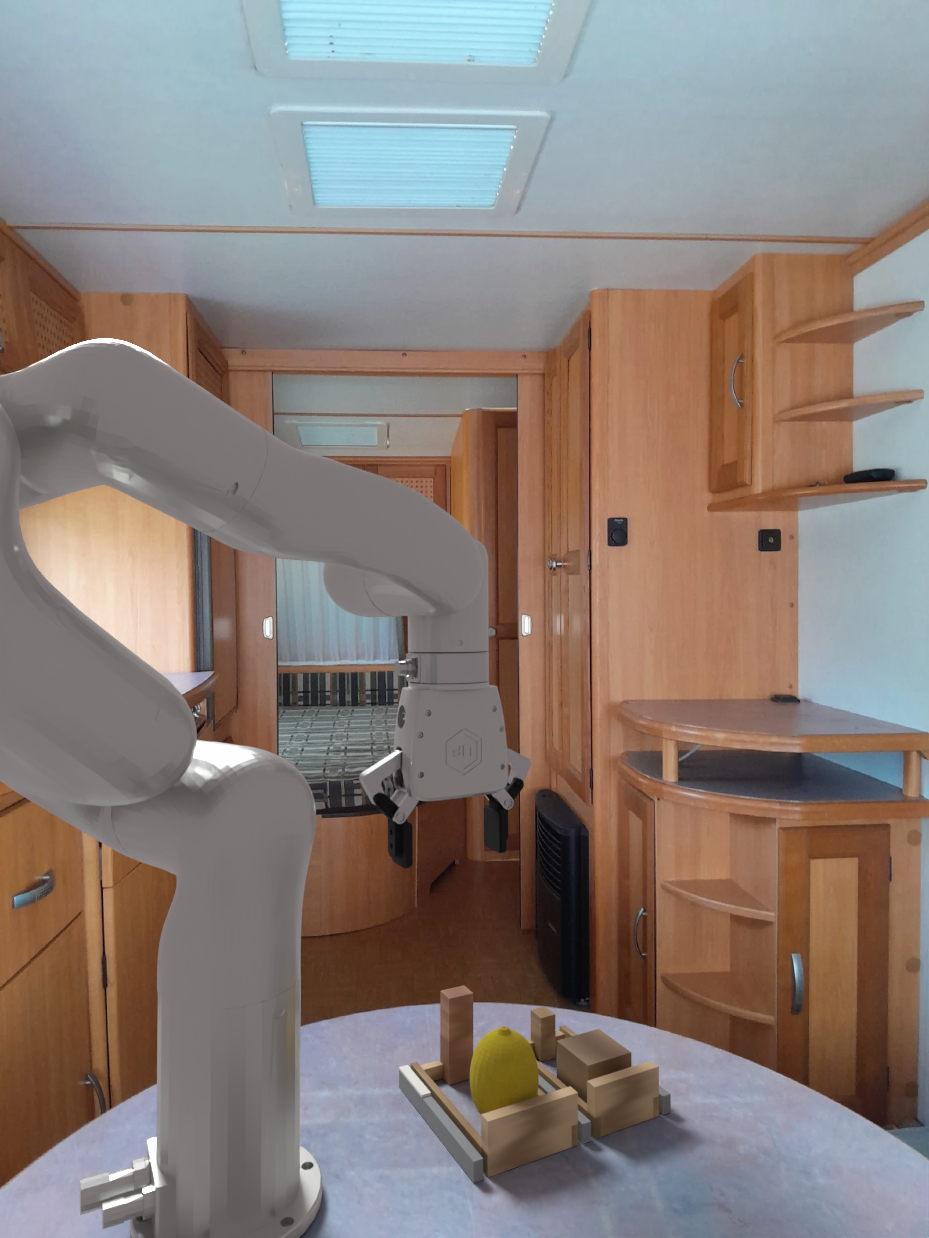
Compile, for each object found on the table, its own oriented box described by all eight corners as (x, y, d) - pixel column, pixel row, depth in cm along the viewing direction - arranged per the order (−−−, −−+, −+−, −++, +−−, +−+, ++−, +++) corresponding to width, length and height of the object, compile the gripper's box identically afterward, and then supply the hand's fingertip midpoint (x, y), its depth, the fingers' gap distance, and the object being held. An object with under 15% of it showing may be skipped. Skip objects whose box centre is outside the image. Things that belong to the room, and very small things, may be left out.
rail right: (663, 1114, 65) (663, 1096, 65) (581, 1050, 75) (581, 1034, 75) (670, 1112, 66) (670, 1093, 66) (587, 1048, 76) (587, 1032, 76)
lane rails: (473, 1183, 57) (473, 1159, 57) (398, 1086, 69) (398, 1066, 69) (591, 1140, 62) (591, 1118, 62) (502, 1057, 74) (502, 1039, 74)
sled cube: (594, 1138, 62) (594, 1087, 62) (507, 1057, 74) (506, 1014, 74) (658, 1115, 65) (658, 1066, 65) (564, 1041, 77) (564, 999, 77)
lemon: (538, 1109, 66) (538, 1012, 66) (538, 1152, 61) (538, 1046, 61) (472, 1105, 67) (472, 1009, 67) (466, 1147, 61) (466, 1042, 61)
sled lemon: (487, 1177, 58) (487, 1072, 58) (410, 1081, 70) (410, 995, 70) (578, 1144, 61) (577, 1046, 62) (489, 1059, 74) (489, 978, 74)
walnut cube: (587, 1121, 65) (587, 1065, 65) (556, 1093, 69) (556, 1040, 69) (631, 1106, 67) (631, 1052, 67) (598, 1079, 71) (598, 1028, 71)
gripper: (376, 677, 66) (377, 882, 66) (548, 670, 75) (550, 853, 74) (346, 673, 73) (347, 860, 73) (507, 667, 81) (508, 835, 81)
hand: (449, 856), depth 74 cm, fingers open, 9 cm apart
